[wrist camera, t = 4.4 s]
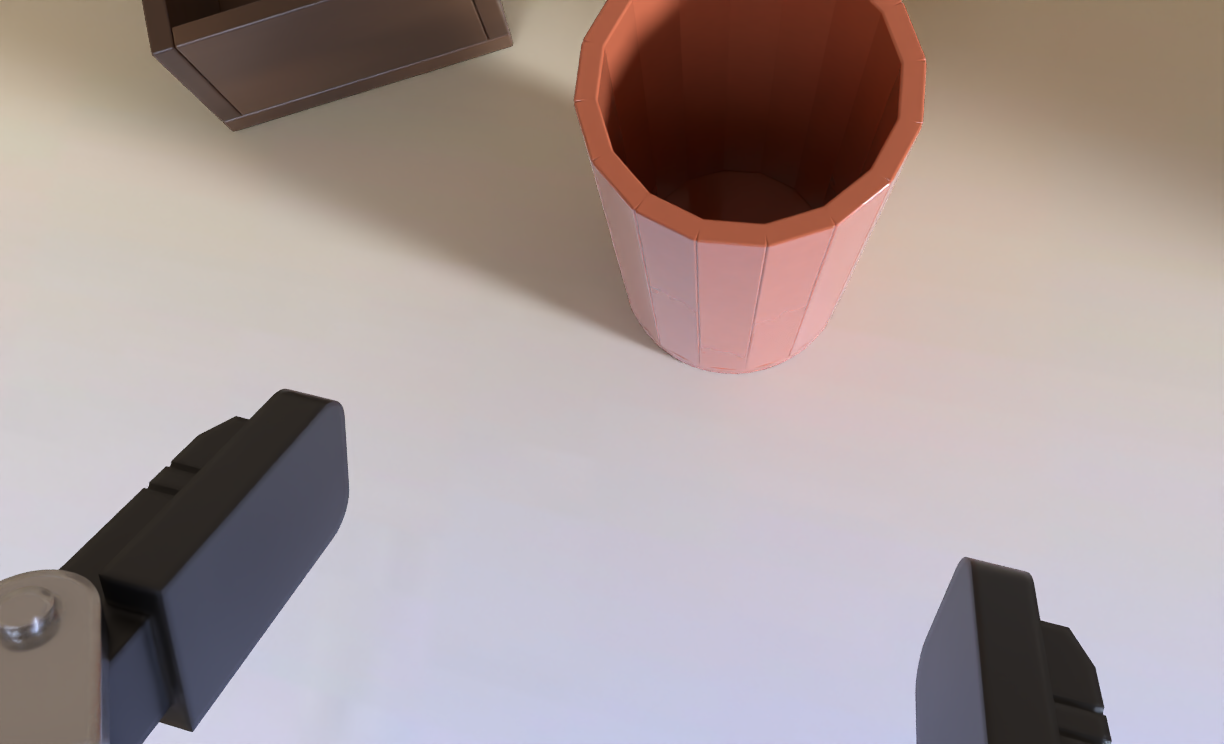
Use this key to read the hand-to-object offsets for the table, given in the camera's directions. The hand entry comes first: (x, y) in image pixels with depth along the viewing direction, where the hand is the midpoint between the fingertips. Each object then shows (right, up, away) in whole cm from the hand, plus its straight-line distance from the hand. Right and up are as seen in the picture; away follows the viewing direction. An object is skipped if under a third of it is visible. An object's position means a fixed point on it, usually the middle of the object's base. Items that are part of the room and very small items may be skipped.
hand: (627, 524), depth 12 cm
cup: (+3, +5, +12) cm, 14 cm away
